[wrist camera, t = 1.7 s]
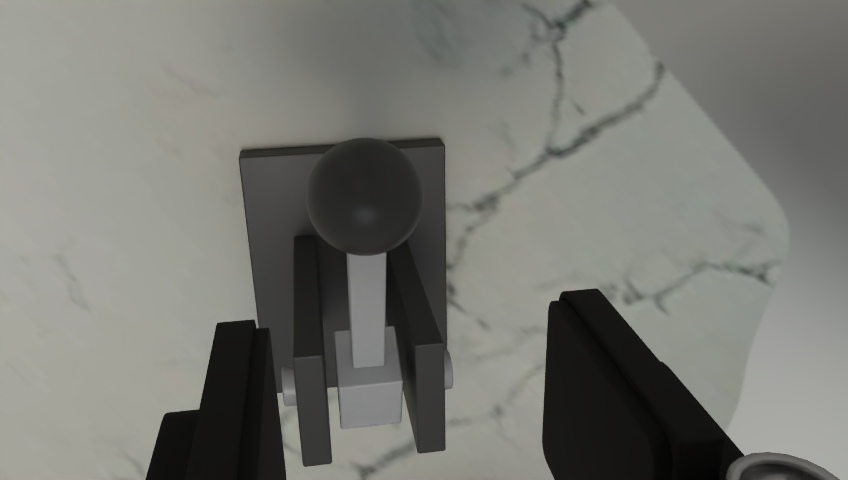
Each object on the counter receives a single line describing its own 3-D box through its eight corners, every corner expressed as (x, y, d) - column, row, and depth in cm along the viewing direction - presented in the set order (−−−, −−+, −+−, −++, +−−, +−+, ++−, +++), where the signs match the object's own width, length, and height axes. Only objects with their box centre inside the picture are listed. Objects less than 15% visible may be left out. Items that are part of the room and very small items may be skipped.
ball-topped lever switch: (298, 116, 20) (304, 199, 18) (417, 110, 21) (435, 190, 18) (322, 366, 29) (327, 441, 27) (405, 358, 29) (416, 431, 27)
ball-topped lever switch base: (240, 150, 33) (213, 254, 22) (440, 138, 34) (505, 231, 24) (267, 381, 38) (255, 559, 27) (443, 363, 39) (499, 527, 28)
